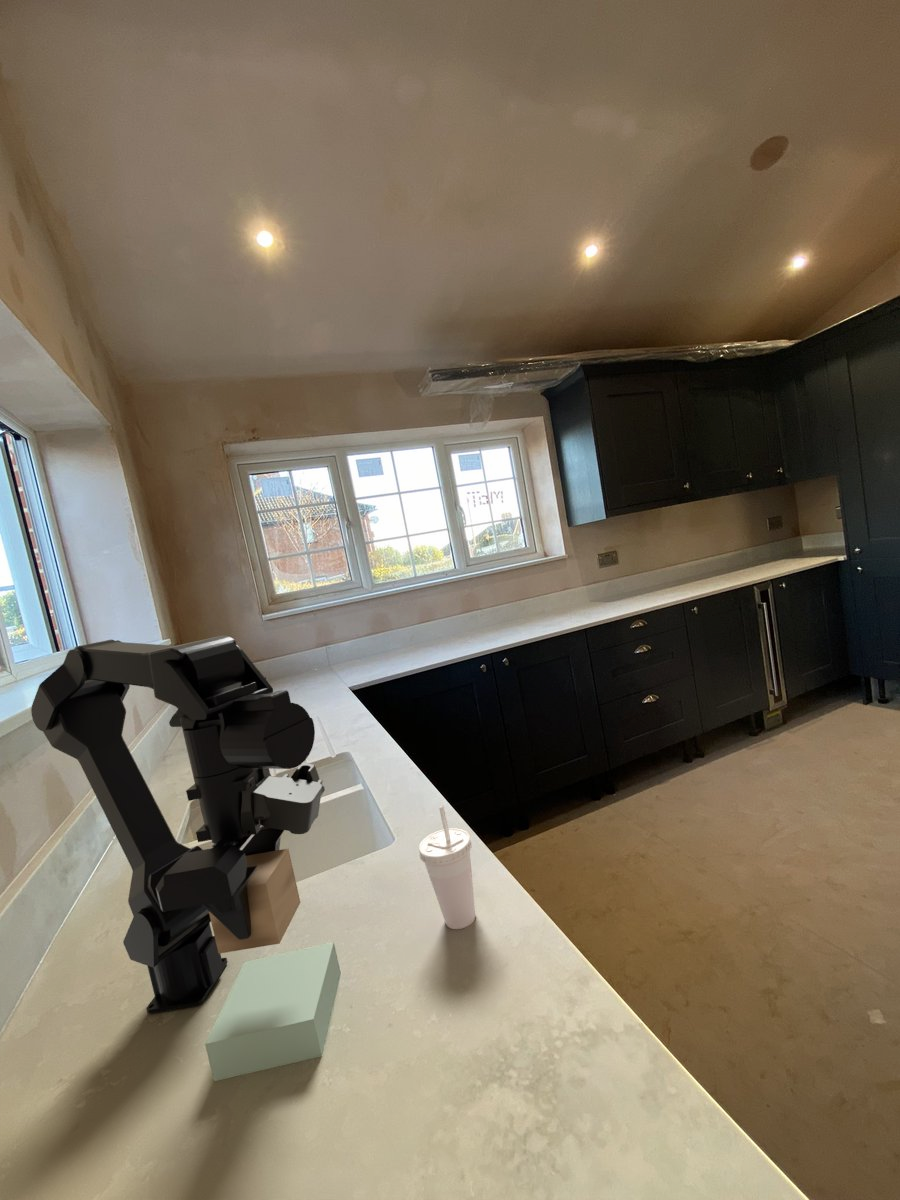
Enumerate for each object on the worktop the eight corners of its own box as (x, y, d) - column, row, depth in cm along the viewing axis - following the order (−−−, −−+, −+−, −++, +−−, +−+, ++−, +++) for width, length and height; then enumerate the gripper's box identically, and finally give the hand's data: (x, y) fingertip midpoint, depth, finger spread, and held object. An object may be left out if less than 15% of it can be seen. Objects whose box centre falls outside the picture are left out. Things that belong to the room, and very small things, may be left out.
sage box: (214, 1085, 47) (204, 1044, 47) (252, 996, 57) (244, 962, 57) (322, 1059, 47) (313, 1019, 47) (341, 975, 57) (333, 941, 57)
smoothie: (482, 936, 58) (457, 818, 58) (428, 938, 60) (403, 823, 59) (489, 899, 65) (467, 792, 64) (440, 902, 66) (418, 797, 65)
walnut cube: (218, 953, 49) (204, 893, 49) (246, 911, 55) (233, 857, 55) (279, 943, 49) (265, 883, 48) (300, 902, 55) (288, 848, 54)
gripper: (265, 792, 41) (307, 976, 42) (329, 722, 60) (357, 850, 61) (133, 816, 42) (176, 997, 43) (237, 739, 60) (266, 866, 61)
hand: (259, 915), depth 52 cm, fingers closed on walnut cube, 6 cm apart
